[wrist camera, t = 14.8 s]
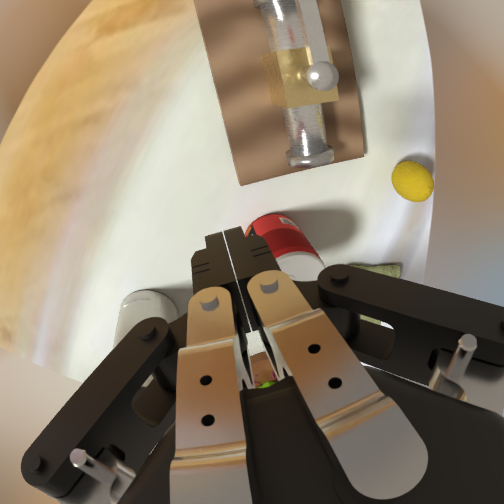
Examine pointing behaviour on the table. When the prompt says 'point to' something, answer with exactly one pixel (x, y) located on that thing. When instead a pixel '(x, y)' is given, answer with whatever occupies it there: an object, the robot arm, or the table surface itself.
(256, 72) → the walnut board
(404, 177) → the lemon
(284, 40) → the valve body
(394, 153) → the table surface
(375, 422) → the robot arm
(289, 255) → the canned food
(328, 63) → the valve lever
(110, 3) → the table surface
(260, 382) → the plant
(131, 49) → the table surface
